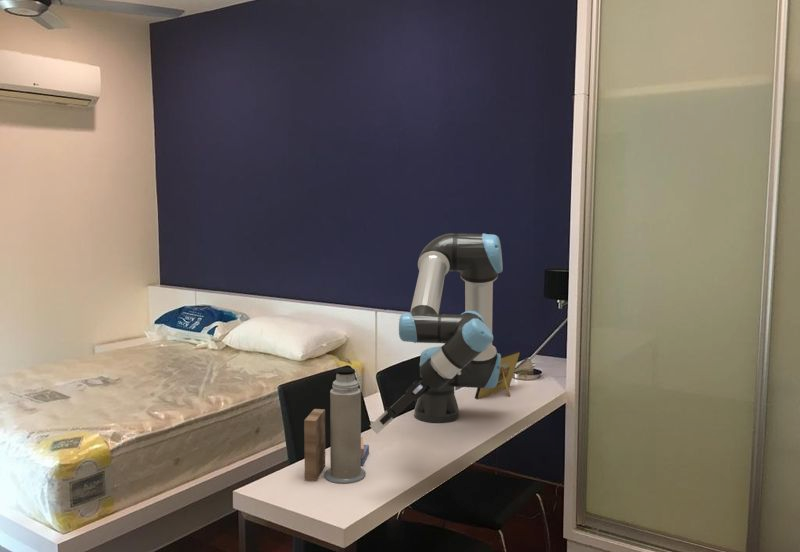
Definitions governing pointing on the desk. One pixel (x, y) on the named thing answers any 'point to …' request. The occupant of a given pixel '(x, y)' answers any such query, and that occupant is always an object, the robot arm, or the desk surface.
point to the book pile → (364, 452)
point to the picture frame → (502, 375)
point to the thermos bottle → (345, 425)
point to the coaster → (343, 481)
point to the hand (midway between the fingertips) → (382, 421)
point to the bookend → (314, 444)
